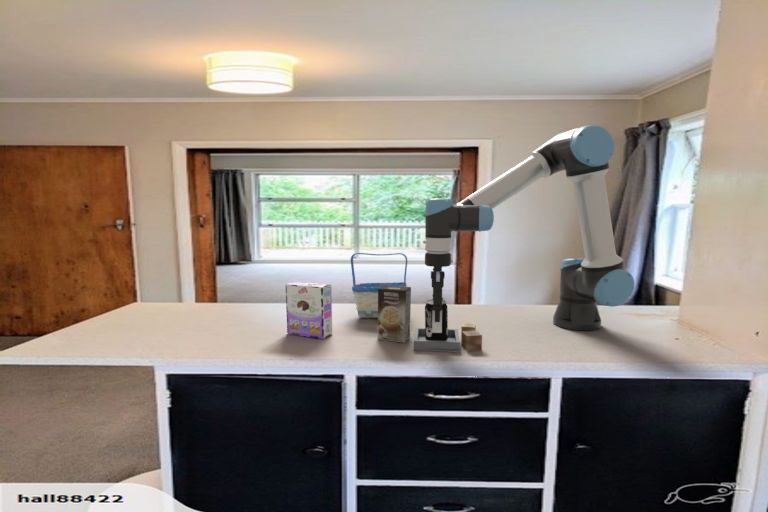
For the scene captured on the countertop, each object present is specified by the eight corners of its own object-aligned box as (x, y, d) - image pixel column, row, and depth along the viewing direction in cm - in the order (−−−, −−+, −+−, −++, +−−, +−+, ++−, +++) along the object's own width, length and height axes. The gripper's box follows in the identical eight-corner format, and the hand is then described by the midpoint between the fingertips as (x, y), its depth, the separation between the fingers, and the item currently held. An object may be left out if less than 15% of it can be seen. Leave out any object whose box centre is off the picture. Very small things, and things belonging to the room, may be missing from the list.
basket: (409, 312, 169) (410, 251, 166) (401, 323, 153) (402, 256, 150) (357, 309, 174) (357, 249, 171) (344, 320, 158) (344, 254, 155)
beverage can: (447, 345, 128) (446, 304, 126) (424, 344, 129) (423, 304, 127) (448, 337, 134) (448, 299, 132) (426, 336, 135) (426, 298, 134)
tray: (457, 337, 137) (457, 329, 137) (459, 352, 124) (460, 342, 124) (415, 336, 139) (415, 327, 138) (413, 350, 126) (413, 340, 125)
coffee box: (376, 339, 135) (376, 288, 133) (383, 333, 141) (383, 284, 139) (405, 343, 132) (405, 290, 130) (411, 336, 138) (411, 286, 136)
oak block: (475, 336, 139) (476, 324, 139) (474, 340, 135) (474, 327, 135) (462, 335, 140) (463, 323, 140) (461, 339, 137) (461, 326, 136)
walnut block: (476, 345, 131) (476, 330, 130) (481, 350, 126) (482, 335, 126) (461, 346, 130) (461, 331, 129) (466, 351, 126) (466, 335, 125)
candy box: (333, 334, 141) (332, 283, 138) (323, 340, 135) (322, 287, 133) (297, 329, 146) (296, 280, 144) (286, 334, 141) (284, 283, 139)
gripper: (425, 247, 139) (424, 317, 142) (424, 256, 118) (423, 338, 120) (449, 248, 139) (448, 317, 141) (452, 257, 117) (451, 339, 120)
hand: (436, 327), depth 131 cm, fingers open, 9 cm apart
